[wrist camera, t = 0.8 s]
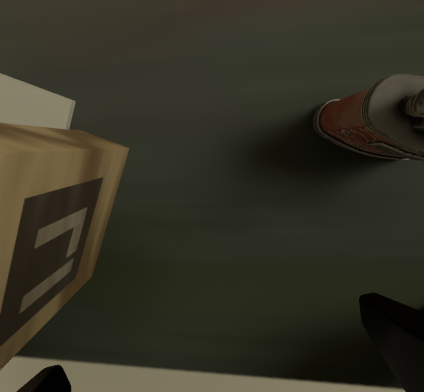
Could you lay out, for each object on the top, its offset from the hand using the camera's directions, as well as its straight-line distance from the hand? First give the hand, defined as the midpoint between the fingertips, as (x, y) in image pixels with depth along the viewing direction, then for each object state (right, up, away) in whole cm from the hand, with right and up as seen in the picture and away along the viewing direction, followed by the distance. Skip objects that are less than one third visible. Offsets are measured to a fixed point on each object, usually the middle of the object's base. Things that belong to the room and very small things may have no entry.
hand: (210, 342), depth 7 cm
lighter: (+12, +9, +12) cm, 19 cm away
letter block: (-11, +3, +14) cm, 18 cm away
